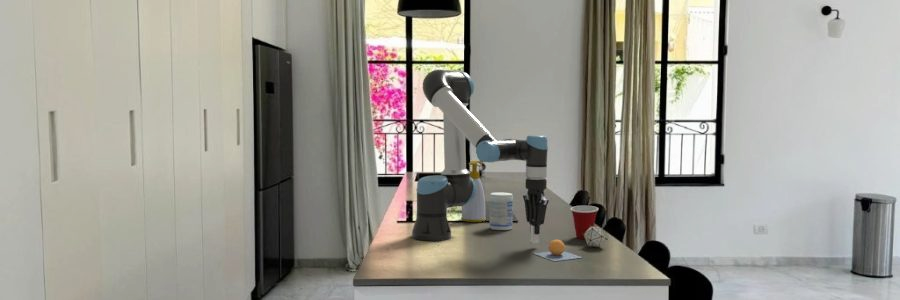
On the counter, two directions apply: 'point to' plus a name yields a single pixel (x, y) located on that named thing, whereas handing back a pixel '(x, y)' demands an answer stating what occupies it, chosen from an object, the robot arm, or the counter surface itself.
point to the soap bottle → (475, 199)
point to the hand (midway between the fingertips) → (534, 242)
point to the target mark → (557, 256)
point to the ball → (556, 247)
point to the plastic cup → (583, 219)
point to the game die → (594, 236)
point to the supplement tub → (501, 211)
